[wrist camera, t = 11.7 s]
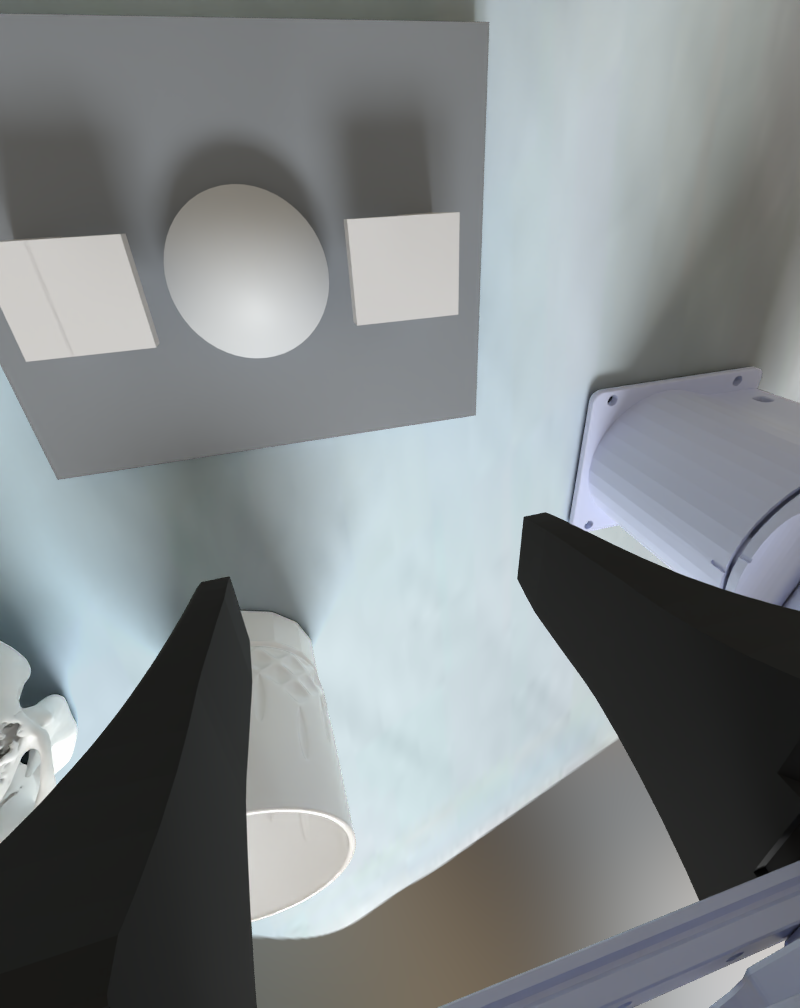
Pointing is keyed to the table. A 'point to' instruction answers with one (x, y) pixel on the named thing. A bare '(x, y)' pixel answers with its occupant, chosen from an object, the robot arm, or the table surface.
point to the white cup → (291, 773)
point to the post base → (237, 230)
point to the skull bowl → (28, 742)
